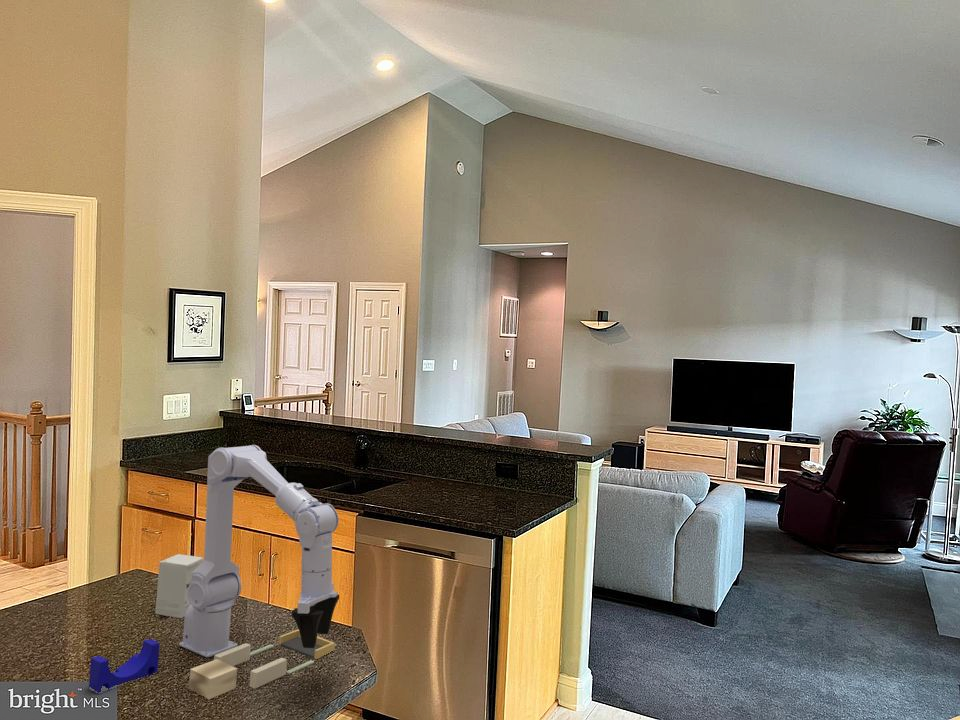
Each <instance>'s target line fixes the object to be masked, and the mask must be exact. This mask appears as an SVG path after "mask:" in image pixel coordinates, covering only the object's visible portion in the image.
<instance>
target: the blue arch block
mask: <svg viewBox="0 0 960 720" xmlns="http://www.w3.org/2000/svg"><path fill="white" fill-rule="evenodd" d="M160 644H161V643H160V642H158V641H157V640H154V639H151V638H148V639H146V640H143V641H142V647H141V650H140V652H139V653H136V654H134V655H132V656H131V657H130V658H129V659H128V660H127V661H126V662H125V663H123V665H121V666H119V667H117V668H115V671H114V672H112V671H111V670H110V669H111V668H110V665H109V659H107V658H105V657H103V656H101V655H96V656H93V657H91V658H90V667H89V678H88V679H89V681H88V688H89V687H91V688H92V689H94V690H95V691H97V692H98V693H99V692H101V688H102V686H105V687H106V688H108V689H109V688H111V687H113V686H115V685H119V684H122V683H125V682H128V681H131V680H135V679H138V678H141V677H143V678H145V677H144V676H146V677H148V676H147V675H149V676H151V675H154V674H156V672H157V673H158V670H159V656H160V647H161V645H160ZM153 673H154V674H153ZM141 679H142V678H141ZM138 680H139V679H138ZM135 681H136V680H135Z"/></svg>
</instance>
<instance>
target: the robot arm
mask: <svg viewBox="0 0 960 720" xmlns="http://www.w3.org/2000/svg"><path fill="white" fill-rule="evenodd" d="M267 457H268V456H267V453H266V452H265V451H263V450H262V449H261V447H260V446H258V445H256V444H250V445H243V446H242V445H241V446H233V447H218V448H216V449H215V450H213V451H212V452H211V453H210V454H209V455H208V458H207V477H206V478H207V479H206V480H207V481H206V483H207V484H206V507H205V529H204V530H205V531H204V553H203V556H204V557H203V562H202V563H201V564H200V565H199V566H198V567H197V568H196V569H195V570H194V571H193V572H192V579H191V583H190V585H189V589H188V598H189V601H190V603H191V605H190V606H189V607H188V609H187V611H186V613H185V616H184V617H183V635H182V641H181V642H179V643H178V645H179V646H180V647H183V648H184V649H186V650H189V651H191V652H192V653H195V654H198V655H200V656H202V657H205V658H210V657H211V658H212V657H213V656H214V655H216V654H219V653H222V652H224V651H227V650H229V649H232V648H235V647H237V646H238V643H236V642H234V641H231V640H230V630H231V617H232V606H233V605H235V601H236V600H237V598H239V596H240V595H241V592H242V581H241V578H240V567H239V566H238V565H237V564H236V563H235V562H233V561H232V560H231V558H232V557H231V556H232V539H233V538H232V536H233V516H234V515H233V513H234V511H233V510H234V494H235V492H234V490H235V489H234V488H236V487H237V486H238V485H239V484H240V483H242V481H244V480H245V479H247V478H252V479H253V480H255V482H257V483H259V485H262V486H263V488H265V489H266V490H267V491H269V492H270V493H272V495H274V496H275V504H276V506H278V508H279V509H281V511H283V513H285V515H287V516H288V517H289V518H290V519H291V520H292V521H293V522H294V528H295V531H296V533H297V535H298V536H299V537H298V538H299V540H298V541H299V544H300V547H301V584H300V585H301V587H300V589H301V590H300V592H299V601H298V602H297V607H295V608H293V610H291V617H292V618H293V620H294V621H295V623H296V625H297V629H299V632H300V636H301V640H302V644H303V648H314V647H315V645H316V640H317V636H318V635H328V634H329V632H330V628H331V624H332V619H333V614H334V611H335V608H336V605H337V603H338V602H339V600H340V595H339V594H338V590H334V589H335V588H334V586H335V583H334V581H333V578H332V575H333V574H332V573H333V569H332V568H333V533H334V532H335V531H336V530H337V528H338V526H339V523H340V522H339V514H338V511H337V510H336V509H335V507H334V506H333V505H332V504H330V503H322V502H321V501H319V500H318V499H317V498H315V497H313V496H312V495H311V494H310V493H309V492H308V491H307V490H306V489H304V485H303V484H302V483H300V482H298V483H297V482H288V481H287V480H286V479H285V478H284V476H282V474H281V473H280V472H279V471H277V469H276V468H275V467H274V466H273V465H272V463H270V462H269V461H268V460H267V459H268V458H267Z"/></svg>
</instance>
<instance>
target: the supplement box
mask: <svg viewBox="0 0 960 720" xmlns="http://www.w3.org/2000/svg"><path fill="white" fill-rule="evenodd" d="M203 561H204V557H200V556H195V555H188V554H179V553H178V554H174V555H173V556H170V557H168V558H165V559H163V560H161V561H159V564H158V576H157V588H156V601H155V610H154V611H155V612H154V614H155V615H161V616H166V617H171V618H177V619H184V618H185V613H186V611H187V609H188V607H189V606H190V605H191V603H190V601H189V598H188V589H189V585H190V583H191V579H192V572H193V571H194V570H195V569H196V568H197V567H198V566H199V565H200V564H201V563H202V562H203Z"/></svg>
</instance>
